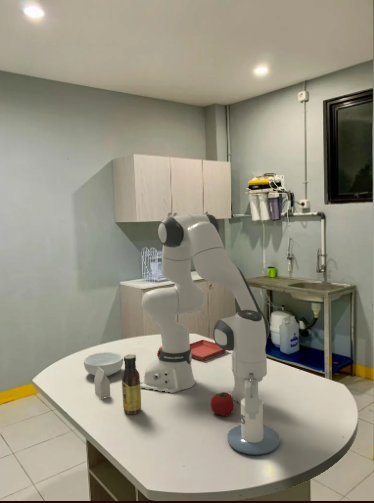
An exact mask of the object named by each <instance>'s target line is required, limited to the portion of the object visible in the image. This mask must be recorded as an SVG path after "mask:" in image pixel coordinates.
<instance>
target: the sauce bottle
mask: <svg viewBox="0 0 374 503" xmlns="http://www.w3.org/2000/svg"><path fill="white" fill-rule="evenodd" d="M136 356H137V355H135V354H132V353H131V354H130V353H129V354H126V355H123V363H124V370H123V373H122V377H121V389H122V390H121V392H122V408H123V412H124V413H125V414H126V415H136V413H137V414H139V413H140V412H141V411H142V394H141V390H142V388H140V380H141V378H140V376H141V375H140V372H139V370H137V365H136V361H137V357H136Z"/></svg>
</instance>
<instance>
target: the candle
mask: <svg viewBox="0 0 374 503" xmlns="http://www.w3.org/2000/svg"><path fill="white" fill-rule="evenodd" d="M263 404H264V403H263V400H261V399H260V398H259V413H258V414H256V419H250V418H249V414H248V413H246V412H245V398H244V399H242V400H241V404H240V420H241V421H240V422H241V423H240V425H241V432H242V439H243V440H245V441H247V442H251V443H256V442H260V441H262V440H263V425H264V405H263Z"/></svg>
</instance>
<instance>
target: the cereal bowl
mask: <svg viewBox="0 0 374 503" xmlns="http://www.w3.org/2000/svg"><path fill="white" fill-rule="evenodd" d="M123 365H124V355H123V354H122V353H119V352H114V351H104V352H96V353H93V354H90V355H87V356H86V357H85V358H84V360H83V366H84V370H85V371H86V372H87V373H88V374H90V375H92V376H95V375H96V373H97V369H98V367H100V368H101V369H102V370H103V371H104V372H105V374H106V376H107V377H110V376H112V375H113V374H116V373H117V372H119V371H120V370H121V369H122V367H123ZM109 375H110V376H109Z"/></svg>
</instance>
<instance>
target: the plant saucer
mask: <svg viewBox="0 0 374 503" xmlns="http://www.w3.org/2000/svg"><path fill="white" fill-rule="evenodd" d="M190 348H191V354H192V358H194V359H196V360H198V361H199V360H200V361H202V362H203V361H206V360H208V359H212V358H214V357H217V356H219V355H221V354H224V353H225V352H227V350H223V349H221V348H220V347H219V346H218V345H217V344H216V343H215V342H213V341H210V340H205V339H200V340H197V341H194V342H192V343H191V342H190Z"/></svg>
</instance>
